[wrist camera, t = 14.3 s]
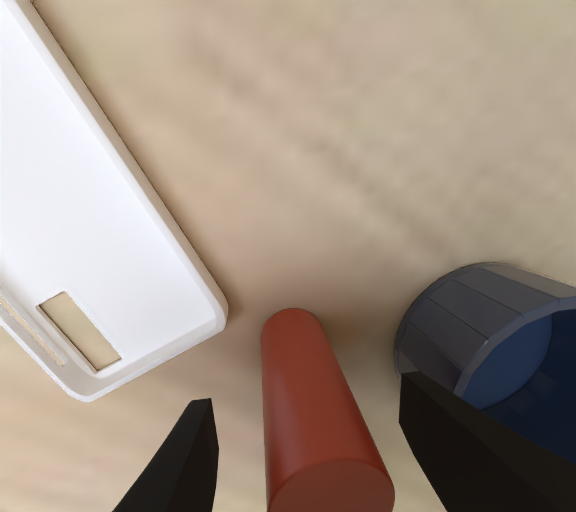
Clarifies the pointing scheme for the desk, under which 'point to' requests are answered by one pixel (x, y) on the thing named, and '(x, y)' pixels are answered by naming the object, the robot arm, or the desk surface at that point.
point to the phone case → (86, 224)
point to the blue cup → (500, 348)
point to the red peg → (315, 426)
